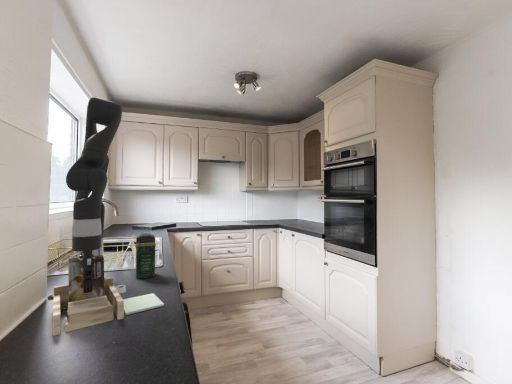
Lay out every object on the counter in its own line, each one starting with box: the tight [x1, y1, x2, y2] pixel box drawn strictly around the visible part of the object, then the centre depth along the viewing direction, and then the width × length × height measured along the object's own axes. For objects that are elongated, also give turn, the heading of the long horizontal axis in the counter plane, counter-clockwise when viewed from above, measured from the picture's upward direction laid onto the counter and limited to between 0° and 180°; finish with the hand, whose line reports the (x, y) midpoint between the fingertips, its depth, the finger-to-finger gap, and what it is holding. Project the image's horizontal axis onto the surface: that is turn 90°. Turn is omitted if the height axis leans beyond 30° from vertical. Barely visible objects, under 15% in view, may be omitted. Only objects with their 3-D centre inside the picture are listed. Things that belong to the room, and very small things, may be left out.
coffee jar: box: [135, 232, 156, 279], centre depth 117 cm, size 10×8×19 cm
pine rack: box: [52, 276, 125, 337], centre depth 79 cm, size 20×16×7 cm
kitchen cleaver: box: [47, 284, 127, 301], centre depth 94 cm, size 24×1×10 cm
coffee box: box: [67, 255, 105, 302], centre depth 81 cm, size 9×6×16 cm
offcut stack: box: [63, 296, 114, 333], centre depth 73 cm, size 6×11×6 cm, turn 127°
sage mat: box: [122, 292, 165, 316], centre depth 86 cm, size 12×11×1 cm
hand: (86, 288), depth 81 cm, fingers closed on coffee box, 6 cm apart
